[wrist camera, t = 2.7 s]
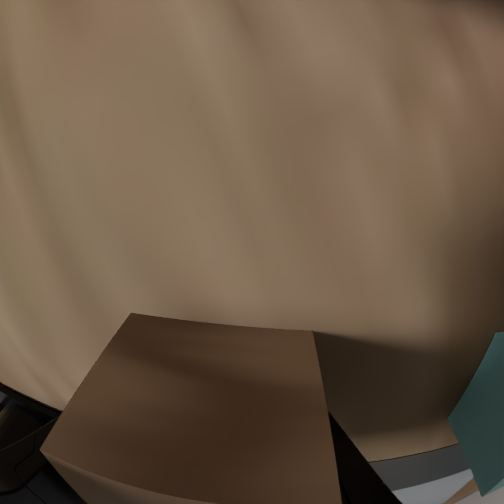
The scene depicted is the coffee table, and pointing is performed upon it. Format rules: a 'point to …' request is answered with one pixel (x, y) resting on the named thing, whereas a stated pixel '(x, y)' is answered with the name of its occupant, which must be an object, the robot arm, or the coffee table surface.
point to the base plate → (426, 475)
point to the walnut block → (199, 418)
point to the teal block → (484, 419)
